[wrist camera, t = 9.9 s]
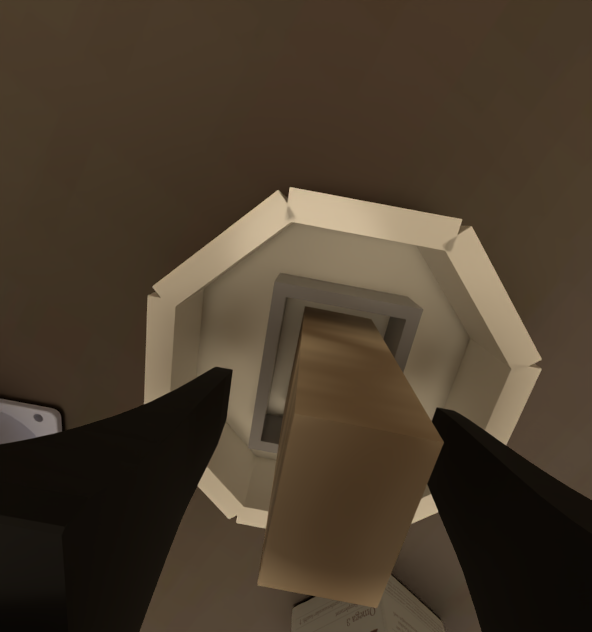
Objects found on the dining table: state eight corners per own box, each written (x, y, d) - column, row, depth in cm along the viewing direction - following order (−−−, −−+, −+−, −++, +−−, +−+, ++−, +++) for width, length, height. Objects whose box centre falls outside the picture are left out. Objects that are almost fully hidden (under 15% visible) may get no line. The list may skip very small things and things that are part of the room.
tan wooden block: (285, 402, 15) (257, 585, 8) (305, 305, 14) (294, 413, 6) (345, 413, 15) (377, 608, 8) (371, 319, 14) (444, 442, 6)
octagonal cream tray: (174, 445, 18) (136, 507, 14) (194, 172, 13) (145, 153, 9) (423, 491, 18) (454, 566, 14) (524, 233, 13) (608, 239, 9)
